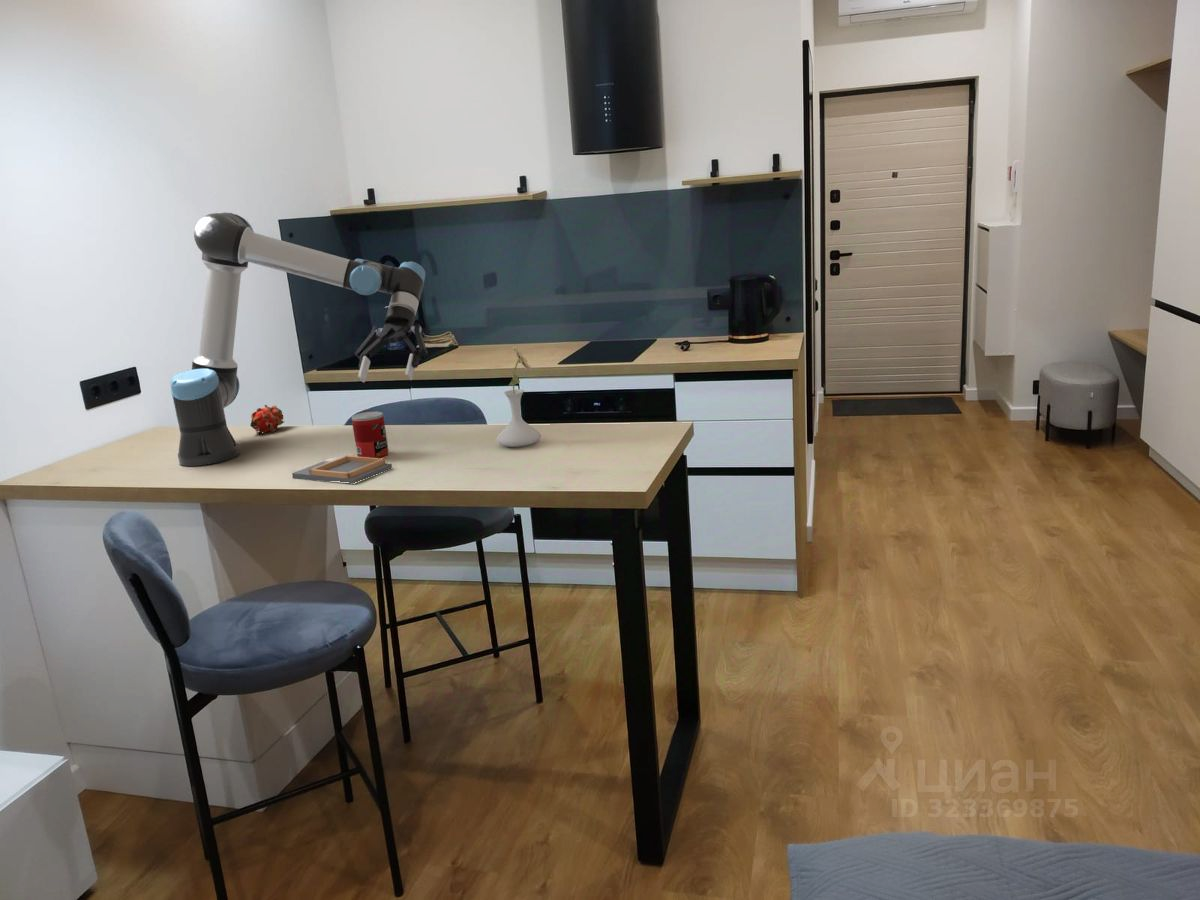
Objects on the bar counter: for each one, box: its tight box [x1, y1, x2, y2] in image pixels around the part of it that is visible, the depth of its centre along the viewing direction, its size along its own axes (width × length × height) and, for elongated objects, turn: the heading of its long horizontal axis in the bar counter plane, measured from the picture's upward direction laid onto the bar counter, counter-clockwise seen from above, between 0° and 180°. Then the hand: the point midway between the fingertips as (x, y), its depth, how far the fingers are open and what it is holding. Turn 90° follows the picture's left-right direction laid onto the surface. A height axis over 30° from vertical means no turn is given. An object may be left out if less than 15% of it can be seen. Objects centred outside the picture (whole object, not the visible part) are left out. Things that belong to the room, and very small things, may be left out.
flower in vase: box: [496, 345, 542, 448], centre depth 235 cm, size 13×11×25 cm
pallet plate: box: [291, 455, 393, 483], centre depth 224 cm, size 20×13×2 cm, turn 60°
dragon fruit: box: [249, 404, 285, 435], centre depth 276 cm, size 8×8×12 cm
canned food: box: [351, 411, 390, 459], centre depth 236 cm, size 8×8×11 cm
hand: (384, 378), depth 243 cm, fingers open, 13 cm apart
